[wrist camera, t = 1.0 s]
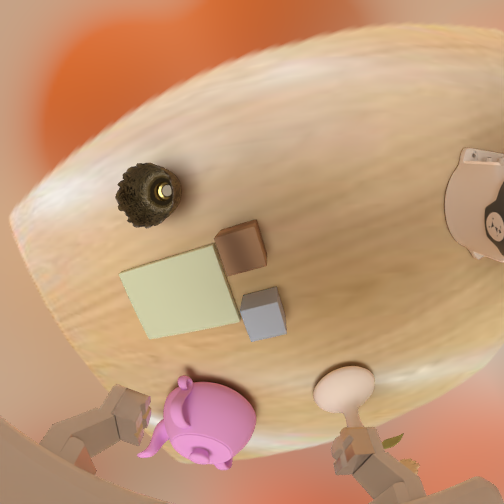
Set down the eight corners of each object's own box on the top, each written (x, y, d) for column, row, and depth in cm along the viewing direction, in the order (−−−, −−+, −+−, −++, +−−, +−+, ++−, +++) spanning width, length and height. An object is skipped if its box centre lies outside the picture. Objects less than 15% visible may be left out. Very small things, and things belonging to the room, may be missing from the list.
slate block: (276, 286, 39) (277, 301, 34) (285, 315, 40) (286, 333, 36) (243, 294, 40) (239, 311, 35) (253, 323, 41) (251, 341, 36)
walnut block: (256, 219, 37) (254, 226, 32) (266, 254, 38) (266, 265, 33) (220, 229, 37) (213, 238, 33) (232, 263, 39) (227, 276, 34)
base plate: (214, 243, 38) (212, 245, 37) (240, 317, 41) (239, 321, 40) (122, 271, 40) (118, 274, 39) (151, 335, 43) (149, 339, 42)
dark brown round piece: (134, 184, 36) (105, 188, 28) (173, 153, 35) (149, 149, 27) (162, 227, 38) (137, 240, 30) (203, 197, 36) (185, 204, 29)
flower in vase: (316, 409, 46) (330, 521, 22) (308, 369, 43) (325, 501, 19) (380, 392, 44) (418, 495, 20) (380, 350, 41) (436, 465, 17)
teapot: (130, 373, 46) (100, 421, 33) (230, 354, 43) (216, 416, 30) (183, 439, 52) (169, 484, 38) (272, 428, 48) (271, 482, 35)
